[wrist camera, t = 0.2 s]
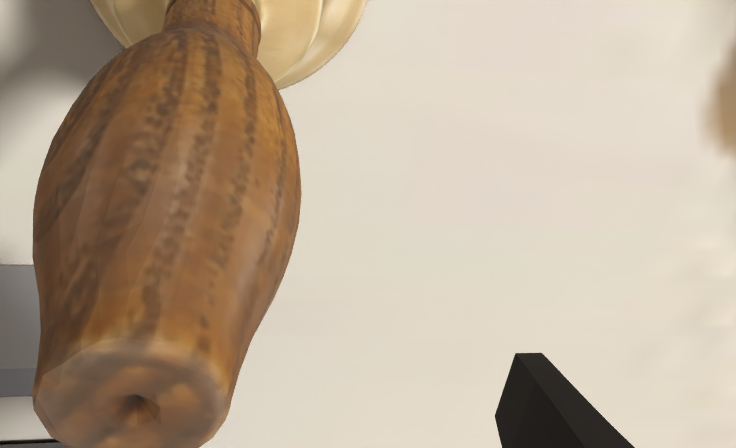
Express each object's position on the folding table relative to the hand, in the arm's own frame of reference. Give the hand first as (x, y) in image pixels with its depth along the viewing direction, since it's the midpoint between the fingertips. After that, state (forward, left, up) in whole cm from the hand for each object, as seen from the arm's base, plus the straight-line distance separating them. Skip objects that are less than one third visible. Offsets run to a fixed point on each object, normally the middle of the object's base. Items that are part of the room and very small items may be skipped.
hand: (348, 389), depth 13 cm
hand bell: (+7, +3, -10) cm, 13 cm away
